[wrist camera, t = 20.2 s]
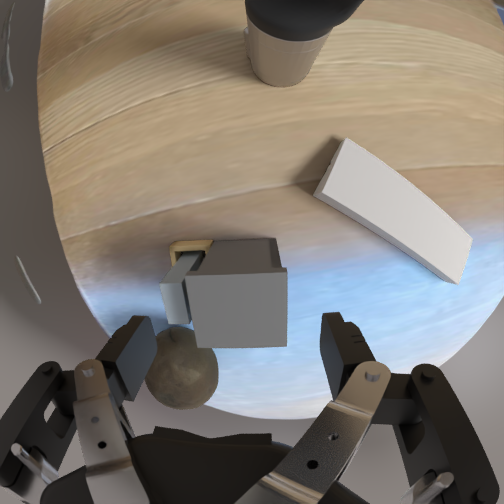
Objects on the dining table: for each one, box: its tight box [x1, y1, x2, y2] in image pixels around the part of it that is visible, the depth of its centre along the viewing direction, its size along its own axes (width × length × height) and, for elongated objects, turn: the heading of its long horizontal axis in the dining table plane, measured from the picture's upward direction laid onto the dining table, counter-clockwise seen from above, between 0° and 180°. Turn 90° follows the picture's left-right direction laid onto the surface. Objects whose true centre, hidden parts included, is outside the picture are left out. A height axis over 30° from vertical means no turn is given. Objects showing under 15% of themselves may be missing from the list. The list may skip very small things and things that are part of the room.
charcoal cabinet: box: [169, 238, 287, 348], centre depth 38 cm, size 17×10×15 cm, turn 93°
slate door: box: [159, 250, 203, 324], centre depth 39 cm, size 3×6×13 cm, turn 4°
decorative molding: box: [313, 137, 473, 285], centre depth 41 cm, size 34×5×10 cm
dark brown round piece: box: [144, 327, 218, 410], centre depth 44 cm, size 14×14×15 cm
